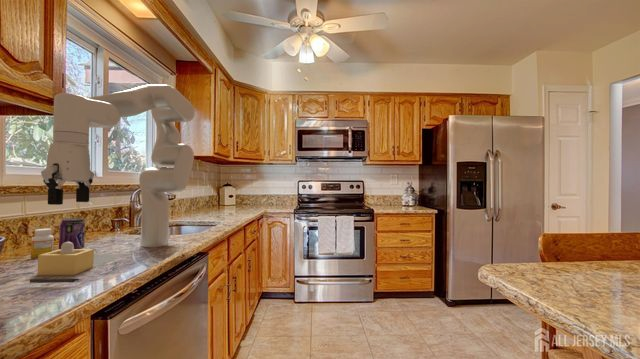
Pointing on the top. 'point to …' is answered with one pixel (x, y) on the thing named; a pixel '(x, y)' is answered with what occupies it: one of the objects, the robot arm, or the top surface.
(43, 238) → the supplement bottle
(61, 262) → the tan hollow block
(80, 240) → the beverage can
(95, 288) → the top surface
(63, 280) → the keeper board
